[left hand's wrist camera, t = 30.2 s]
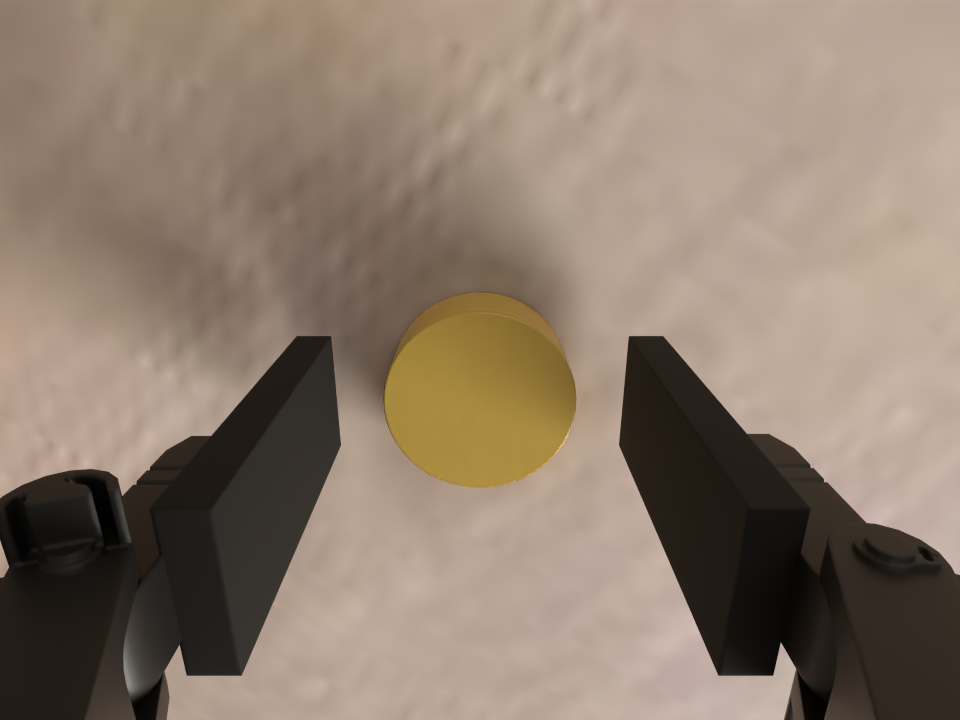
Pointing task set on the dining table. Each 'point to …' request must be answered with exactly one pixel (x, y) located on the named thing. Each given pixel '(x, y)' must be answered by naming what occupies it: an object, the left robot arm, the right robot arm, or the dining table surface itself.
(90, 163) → the dining table surface
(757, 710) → the dining table surface
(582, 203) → the dining table surface
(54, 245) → the dining table surface
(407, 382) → the cap
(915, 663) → the left robot arm
